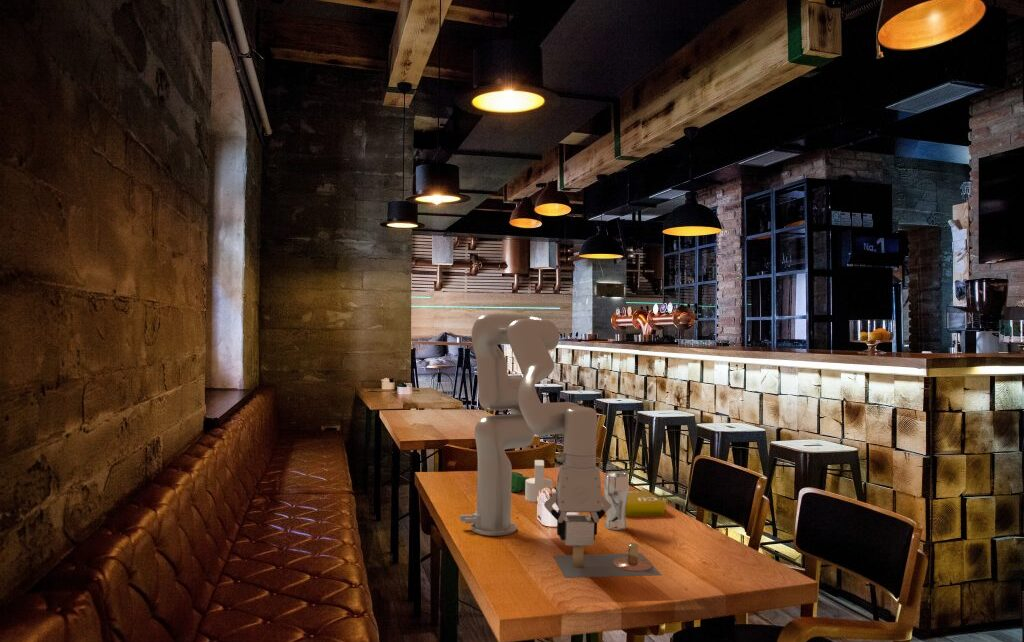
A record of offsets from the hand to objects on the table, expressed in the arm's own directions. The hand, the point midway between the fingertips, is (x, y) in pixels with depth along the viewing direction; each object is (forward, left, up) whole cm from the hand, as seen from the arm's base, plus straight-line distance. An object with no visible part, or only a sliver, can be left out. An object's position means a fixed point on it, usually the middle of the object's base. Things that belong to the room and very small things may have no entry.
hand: (576, 537), depth 149 cm
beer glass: (+19, +32, -8) cm, 38 cm away
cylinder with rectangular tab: (+2, +64, -8) cm, 65 cm away
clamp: (-4, +78, -8) cm, 79 cm away
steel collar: (0, 0, -1) cm, 1 cm away
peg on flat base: (+13, -1, -6) cm, 15 cm away
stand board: (+7, -1, -8) cm, 10 cm away
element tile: (+30, +50, -8) cm, 59 cm away
